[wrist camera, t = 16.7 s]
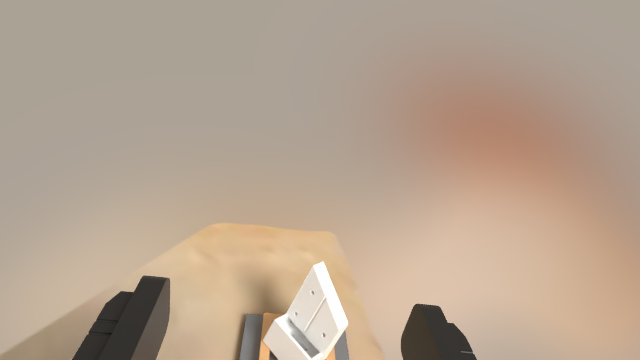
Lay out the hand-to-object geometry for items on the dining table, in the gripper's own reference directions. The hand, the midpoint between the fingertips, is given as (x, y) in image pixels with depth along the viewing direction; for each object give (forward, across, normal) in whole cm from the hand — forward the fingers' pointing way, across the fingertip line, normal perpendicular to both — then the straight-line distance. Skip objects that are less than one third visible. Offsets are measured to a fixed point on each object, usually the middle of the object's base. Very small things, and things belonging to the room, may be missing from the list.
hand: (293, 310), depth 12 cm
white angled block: (+18, -4, +25) cm, 31 cm away
